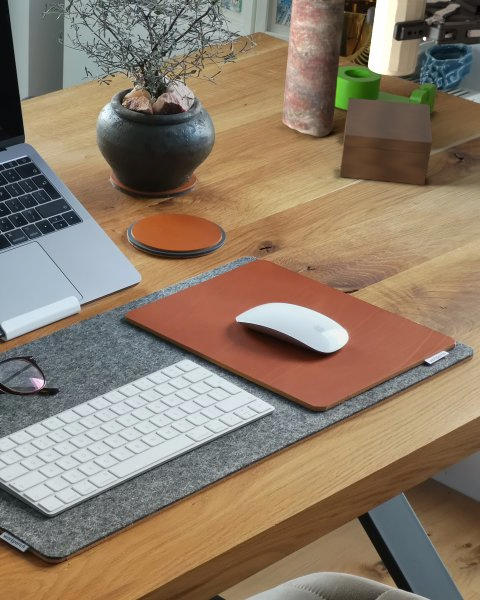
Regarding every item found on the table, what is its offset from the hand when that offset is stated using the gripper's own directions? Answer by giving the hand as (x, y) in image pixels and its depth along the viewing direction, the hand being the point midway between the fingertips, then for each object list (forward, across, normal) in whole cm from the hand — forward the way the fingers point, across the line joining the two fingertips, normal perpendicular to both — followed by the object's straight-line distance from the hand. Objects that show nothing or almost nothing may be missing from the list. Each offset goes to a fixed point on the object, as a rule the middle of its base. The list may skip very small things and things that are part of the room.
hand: (381, 24), depth 141 cm
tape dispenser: (-13, -19, +20) cm, 31 cm away
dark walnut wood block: (-4, -2, +20) cm, 20 cm away
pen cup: (-2, 0, +6) cm, 6 cm away
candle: (+1, -15, +20) cm, 25 cm away
